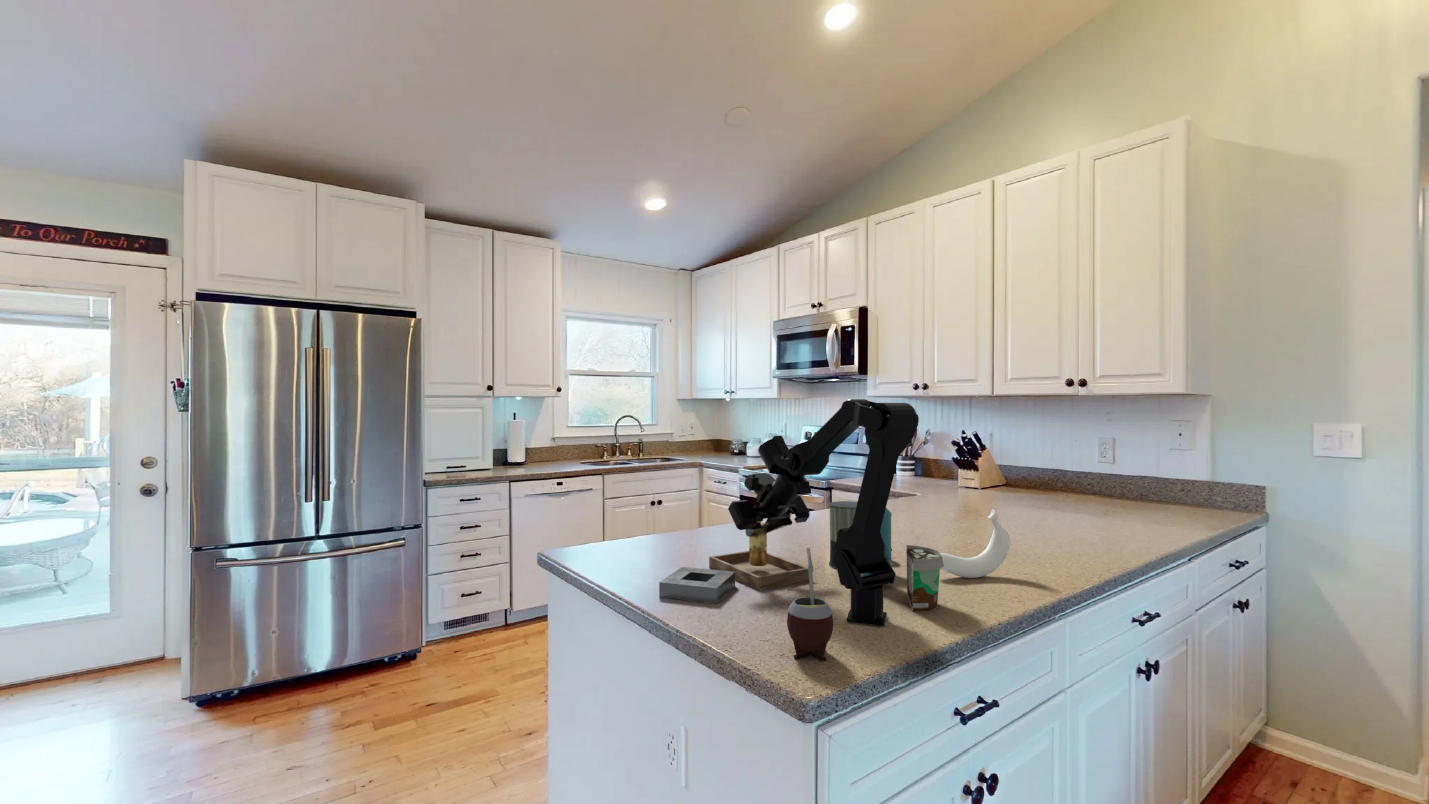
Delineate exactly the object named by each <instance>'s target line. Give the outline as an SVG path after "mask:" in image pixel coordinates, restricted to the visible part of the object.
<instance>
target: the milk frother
mask: <svg viewBox="0 0 1429 804" xmlns="http://www.w3.org/2000/svg"><path fill="white" fill-rule="evenodd" d="M857 502H858V501H854V500H852V501H851V500H849V501H847V500H839V501H831V502H828V504H827V506H829V538H830V539H829V544H830V545H829V547H830V548H829V561H828V565H829V566H830V567H831V568H834V569H837V567H836V563H835V551H836V549H833V547H834V546H835V544H836V541H837V533H838V531H839V529H843V528H849V527H850V526H851V525H852V523H853V519H854V515H855V510H856V506H857ZM891 552H893V548H892V547H891Z"/></svg>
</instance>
